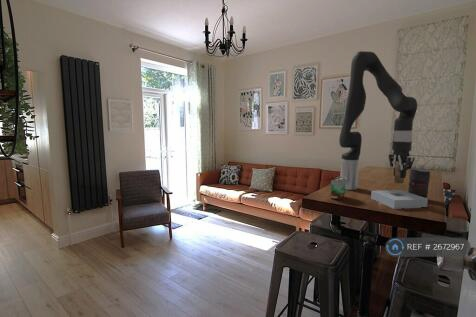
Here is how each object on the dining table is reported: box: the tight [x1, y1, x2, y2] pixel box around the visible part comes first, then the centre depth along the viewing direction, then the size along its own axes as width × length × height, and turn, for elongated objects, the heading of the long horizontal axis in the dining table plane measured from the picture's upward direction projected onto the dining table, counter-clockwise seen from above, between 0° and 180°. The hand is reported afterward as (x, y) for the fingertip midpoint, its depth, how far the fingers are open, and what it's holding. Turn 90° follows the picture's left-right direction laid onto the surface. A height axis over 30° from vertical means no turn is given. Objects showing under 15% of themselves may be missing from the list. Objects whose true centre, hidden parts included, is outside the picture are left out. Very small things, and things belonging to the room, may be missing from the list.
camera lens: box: [407, 168, 431, 198], centre depth 122 cm, size 8×8×15 cm
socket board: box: [370, 189, 429, 210], centre depth 118 cm, size 16×16×4 cm
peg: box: [394, 161, 405, 184], centre depth 116 cm, size 4×4×10 cm
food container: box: [330, 175, 347, 200], centre depth 126 cm, size 12×6×10 cm, turn 143°
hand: (399, 176), depth 116 cm, fingers closed on peg, 3 cm apart
